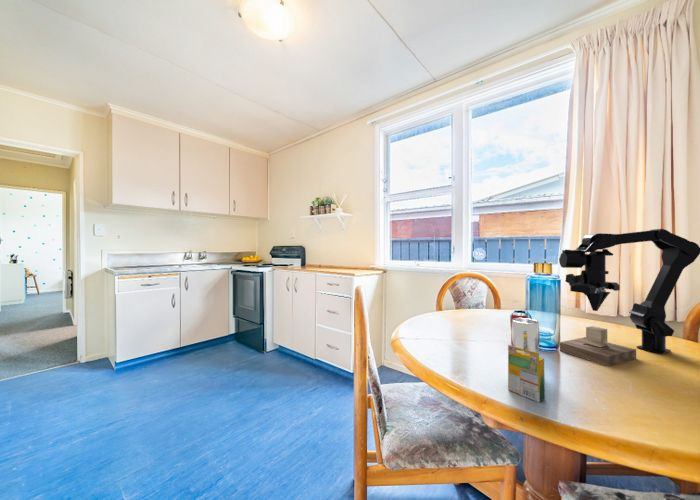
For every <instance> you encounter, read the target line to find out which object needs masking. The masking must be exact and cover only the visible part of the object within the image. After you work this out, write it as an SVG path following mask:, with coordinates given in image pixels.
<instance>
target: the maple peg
mask: <svg viewBox="0 0 700 500" xmlns="http://www.w3.org/2000/svg"><path fill="white" fill-rule="evenodd" d="M585 337H586V345H587V346H590V347H594V348H598V349H606V348H607V347H608V345H607V342H608V328H604V327H600V326H595V325H590V326H586V327H585Z"/></svg>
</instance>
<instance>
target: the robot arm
mask: <svg viewBox="0 0 700 500" xmlns="http://www.w3.org/2000/svg"><path fill="white" fill-rule="evenodd" d="M644 242H652V243H653V244H654V246H655V247H656V248H658V249H659V250H661V251H662V252H661V260H662V265H661V268H660V270H659V271H658V273H657V276H656V277H655V280H653V281H654V282H653V284H652V286H651V288H650V290H649V292H648V293H647V295H646V297H645V300H644V301H643V302H641V303H638V302H637V303H634V304H633V305H632V308H631V310H630V311H628V313H629V314H630V315H629V319H630V321H631V322H632V323H633V324H634V325H635V328H636V329H638V330H641V345H637V346H636V349H640V350H644V351H647V352H648V351H649V352H652V353H656V354H661V355H664V354H666V353H670V352H672V350H671V349H668V348H666V347H667V346H666V345H667V344H666V343H667V342H666V341H667V338H666V337H673V334H674V333H675V330H674V328H672V327H671V326H670V325H668V324H667V323H666V317H667V314H666V309H665V307H666V304H667V303H668V300H669V298H670V296H671V294H672V292H673V291H674V289H675V287H676V284H677V283H678V281H679V279H680V277H681V275H682V272H683V270H685V269H686V268H687V267H688V266H690V265H691V264H693V263H694V262H695V261H696V260H697V258H698V257H699V256H700V245H699V244H698V243H697V242H694V241H690V240H688V239H686V238H684V237H682V236H679V235H677V234H674V233H672V232H670V231H669V230H667V229H664V228H657V229H655V228H654V229H650V230H641V231H633V232H623V233H591V234H585V235H584V236H583V237H582V240H581V243H579V244H578V246H577V247H576V248H575V249H562V250H561V251H562V252H561V254H560V255H559V261H558V262H559V265H560V268H563V269H567V268H569V269H577V268H578V269H580V268H581V269H582V268H583V266H584V270H581V272H580V274H578V275H577V274H576V275H575V274H574V273H569V274H566V275H565V281H564V282H566V283H567V284H568V285H569V289H570V290H569V291H570V292H573V293H574V292H575V293H581V294H584V296H586V297H587V300H588V302H589V304H590V307H591V309H592V311H593V312H597V311H599V309H600V308H601V306H602V305H603V303H604V301H605V300H606V299H607V297H608V296H609V295H610V294H611V292H610V291H606V290H611V291H615V292H616V291H620V289H621V286H620V284H619V283H618V282H613V281H606V275H609V274H610V273H609V271H608V270H606V264H607V263H606V259H607V258H606V256H607V257H608V256H609V257H611V256H614V253H612V252H611V251H609V250H608V248H612V247H615V246H619V245H622V244H623V245H624V244H635V243H644Z"/></svg>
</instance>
